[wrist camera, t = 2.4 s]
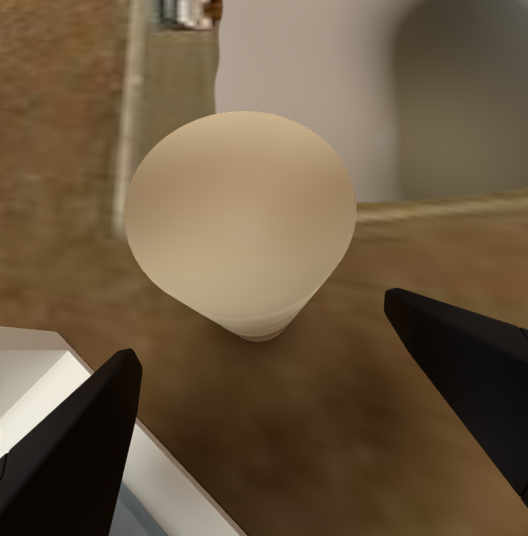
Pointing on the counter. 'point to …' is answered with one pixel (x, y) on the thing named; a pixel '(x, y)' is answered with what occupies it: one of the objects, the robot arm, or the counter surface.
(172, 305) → the counter surface
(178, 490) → the white base plate
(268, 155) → the dowel
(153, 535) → the socket block
